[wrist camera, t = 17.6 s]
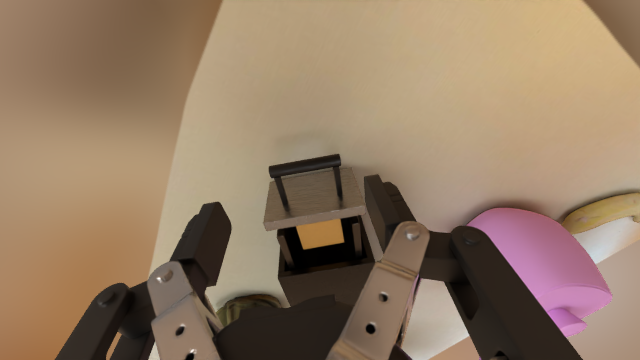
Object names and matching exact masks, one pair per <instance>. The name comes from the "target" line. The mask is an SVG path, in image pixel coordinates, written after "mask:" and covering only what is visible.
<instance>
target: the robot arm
mask: <svg viewBox="0 0 640 360" xmlns="http://www.w3.org/2000/svg"><path fill="white" fill-rule="evenodd" d="M364 189H365V202H366V207H367V210H368V213H369V215H370V218H371V221H372V224H373V226H374V229H375V232H376V235H377V237H378V240H379V243H380V246H381V248H382V251H383V254H384V255H383V257H382V259H381V261H377V262H376V263H375V265H374V267H373V269H372V271H371V273H370V275H369V277H368V279H367V281H366V283H365V285H364V287H363V290H362V292H361V294H360V296H359V298H358V300H357V302H356V304H355V306H353V305H350V304H348V303H344V302H339V301H336V299H335V294H332V295H326V296H320V297H314V298H310V299H308V300H305V301H303V302H301V303H298V304H296V305H294V306H292V307H289V308H277V307H269V306H259V307H253V308H247V309H241V310H240V312H239V318H238V319H236V320H234V321H232V322H230V323H229V324H228V325H226V326H225V327H223V325H222V324H221V322H220V320H219V318H218V316H217V314H216V312H215V310H214V308H213V307H212V305H211V303H210V301H209V299H208V297H207V295H206V294H205V290H206V287H210V286H216V283H217V280H218V276H219V273H220V269H221V266H222V262H223V259H224V255H225V252H226V248H227V245H228V241H229V238H230V234H231V222H230V220H229V218H228V216H227V214H226V212H225V211H224V209H223V207H222V205H221V203H220V202H213V203H208V204H204V205H203V206H202V208H201V210H200V212H199V214H198V215H195V216H194V217H193V218H192V219H191V220H190V221H189V222H188V224H187V226H186V228H185V232H183V234H182V236H181V237H182V238H181V239H180V240H179V242H178V244H177V246H176V248H175V250H174V252H173V255H172V257H171V259H170V261H169V262H167V263H165V264H163V265H161V266H159V267H158V268H157V269H156V270H155V271H154V272H153V273H152V274H151V275H150V277H149V279H148V281H145V282H143V283H141V284H139V285H136V286H134V287H132V288H129V287H128V286H127V285H125V284H124V283H117V284H114V285H111V286H109V287H108V288H106V289H104V290H103V291H102V292H101V293H99V294H98V295H97V296H96V297H95V298H94V300H93V301H92V302H91V304H90V306H89V307H88V309H87V310H86V312H85V313H84V315H83V317H82V318H81V320H80V321H79V323H78V324H77V326H76V327H75V329H74V330H73V332H72V334H71V335H70V337H69V338H68V340H67V342H66V343H65V344H64V346H63V348H62V349H61V351H60V352H59V354H58V356H57V357H56V359H55V360H106V354H107V351H108V349H109V347H110V346H111V344H112V342H113V339H114V337H115V336H116V334H117V332H119V333H121V334H122V335H121V337H120V339H119V341H118V343H117V345H116V347H115V349H114V352H113V354H112V356H111V358H110V360H148V359H149V356H150V353H151V350H152V348H153V345H154V342H155V341H156V345H157V349H158V353H159V357H160V360H412V359H411V358H410V357H409V356H408V355H407V354H406V353H405V352H404V351H403V350H402V349H401V347H402V344H403V341H404V337H405V334H406V331H407V327H408V324H409V320H410V316H411V312H412V308H413V305H414V302H415V299H416V295H417V292H418V289H419V286H420V282H421V279H422V278H424V279H431V280H438V281H444V283H445V285H446V287H447V289H448V291H449V293H450V295H451V297H452V299H453V301H454V304H455V306H456V308H457V310H458V312H459V314H460V316H461V318H462V320H463V322H464V325H465V327H466V329H467V331H468V333H469V335H470V337H471V339H472V341H473V343H474V345H475V347H476V350H477V352H478V354H479V356H480V358H481V360H583V359H582V358H581V357H580V355H579V354H578V353H577V351H576V350H575V349H574V348H573V346H572V345H571V344H570V342H569V341H568V340H567V338H566V337H565V336H564V334H563V333H562V332H561V330H560V329H559V328H558V327H557V325H556V324H555V323H554V321H553V320H552V319H551V317H550V316H549V315H548V313H547V312H546V311H545V310H544V308H543V307H542V306H541V304H540V303H539V302H538V300H537V299H536V298H535V296H534V295H533V294H532V293H531V291H530V290H529V289H528V287H527V286H526V285H525V283H524V282H523V281H522V279H521V278H520V277H519V276H518V274H517V273H516V272H515V270H514V269H513V268H512V266H511V265H510V264H509V262H508V261H507V260H506V259H505V257H504V256H503V255H502V253H501V252H500V251H499V249H498V248H497V247H496V245H495V244H494V243H493V242H492V240H491V239H490V238H489V236H488V235H487V234H486V233H485V232H483V231H482V230H480V229H478V228H475V227H472V226H459V227H456V228H455V229H454V230H453V231H452V234H451V233H440V232H433V231H430V230H428V229H427V228H426V227H425V226H424V225H422V224H420V223H418V222H417V221H416V220H415V218H414V216H413V214H412V213H411V211H410V209H409V207H408V206H407V204H406V202H405V201H404V199H403V197H402V195H401V193H400V192H399V190H398V188H397V187H396V186H395V185H393V184H392V183H391V182H385V183H383V182H382V180H381V178H380V176H379V175H378V174H376V175H370V176H365V177H364Z"/></svg>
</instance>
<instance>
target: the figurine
mask: <svg viewBox="0 0 640 360" xmlns="http://www.w3.org/2000/svg"><path fill="white" fill-rule="evenodd" d="M259 306H269V307H277V308H280V303H279V301H278V300H277V299H276V298H274V297H271V296H269V295H268V296H267V295H252V296H247V297H238V298H237V297H236V298H235V299H233V300H231V301H228V302H227V303H226V304H225V305H224V307H222V308H220V309H219V310H218V311H217V312H216V314H217V316H218V318H219V320H220V322H221V324H222V325H223V327H225V326H226V325H228V324H229V323H230V322H232V321H234V320H236V319H238V318H239V312H240V310H241V309H247V308H253V307H259Z"/></svg>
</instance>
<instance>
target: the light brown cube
mask: <svg viewBox="0 0 640 360" xmlns="http://www.w3.org/2000/svg"><path fill="white" fill-rule="evenodd" d="M296 228H297V232H298V235H299V238H300V241H301V244H302V247H303V249H310V248H315V247H321V246H326V245H332V244H338V243H343V242H344V237H343V231H342V225H341V219H335V220H329V221H323V222H317V223H311V224H306V225H300V226H296Z"/></svg>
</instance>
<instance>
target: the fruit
mask: <svg viewBox="0 0 640 360" xmlns="http://www.w3.org/2000/svg"><path fill="white" fill-rule="evenodd" d="M628 216H634V218H633V221H634V222H637V223H639V222H640V193H632V194H624V195H619V196H614V197H610V198H607V199H604V200H600V201H597V202H594V203H592V204H589V205H587V206H584V207H582V208H580V209H578V210H576V211H574V212H572V213H571V214H570V215H568V216H567V217H566V219H565V220H564V222H563V223H562V224H561V226H563V227H564V228H565V229H566V230H567V231H568V232H569V233H570V234H571V235H572V234H577V233H581V232H585V231H588V230H590V229H593V228H596V227H598V226H600V225H603V224H605V223H607V222H610V221H613V220H616V219H620V218H624V217H628Z"/></svg>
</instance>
